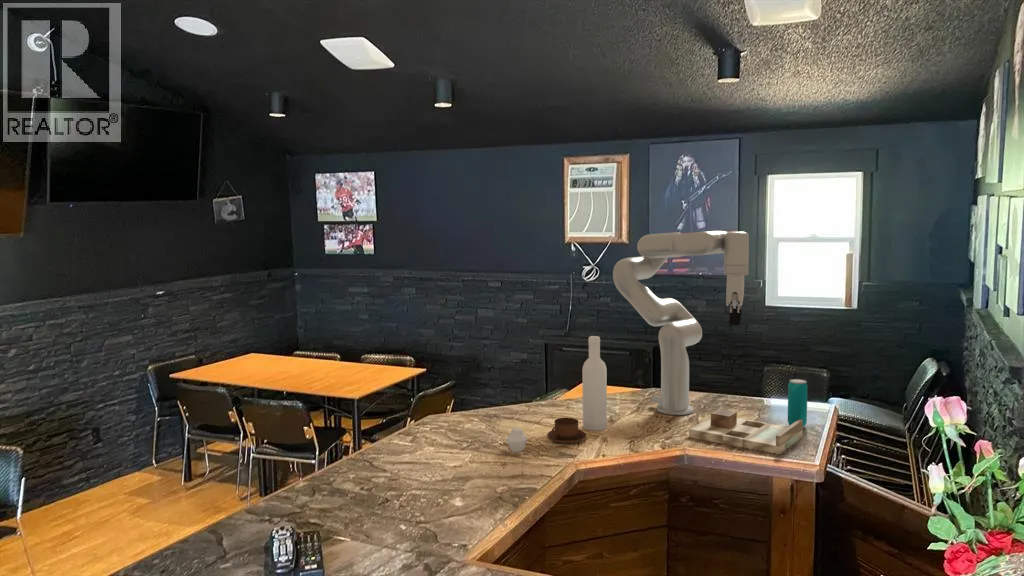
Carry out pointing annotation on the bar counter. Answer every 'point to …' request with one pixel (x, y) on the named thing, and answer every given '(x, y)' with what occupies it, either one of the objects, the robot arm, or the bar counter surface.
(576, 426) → the cup and saucer
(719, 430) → the trap board
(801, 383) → the beverage can
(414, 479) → the bar counter surface
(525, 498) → the bar counter surface
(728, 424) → the walnut block
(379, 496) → the bar counter surface
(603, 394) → the bottle
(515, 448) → the grey lidded jar
